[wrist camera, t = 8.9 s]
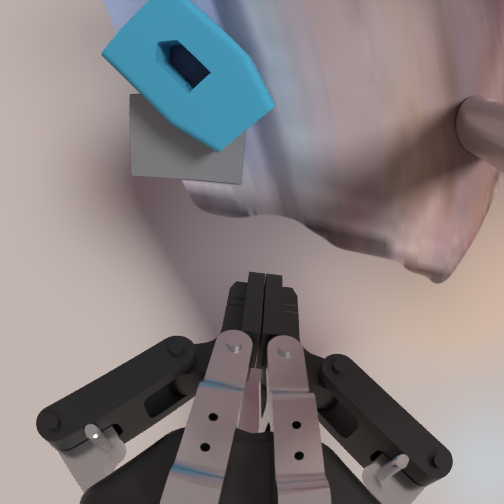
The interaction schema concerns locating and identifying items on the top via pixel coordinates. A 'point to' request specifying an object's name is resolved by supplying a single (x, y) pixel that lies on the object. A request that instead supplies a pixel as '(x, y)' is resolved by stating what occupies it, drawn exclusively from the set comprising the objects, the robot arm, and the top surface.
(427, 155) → the top surface
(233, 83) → the block
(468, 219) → the top surface
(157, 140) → the mat
